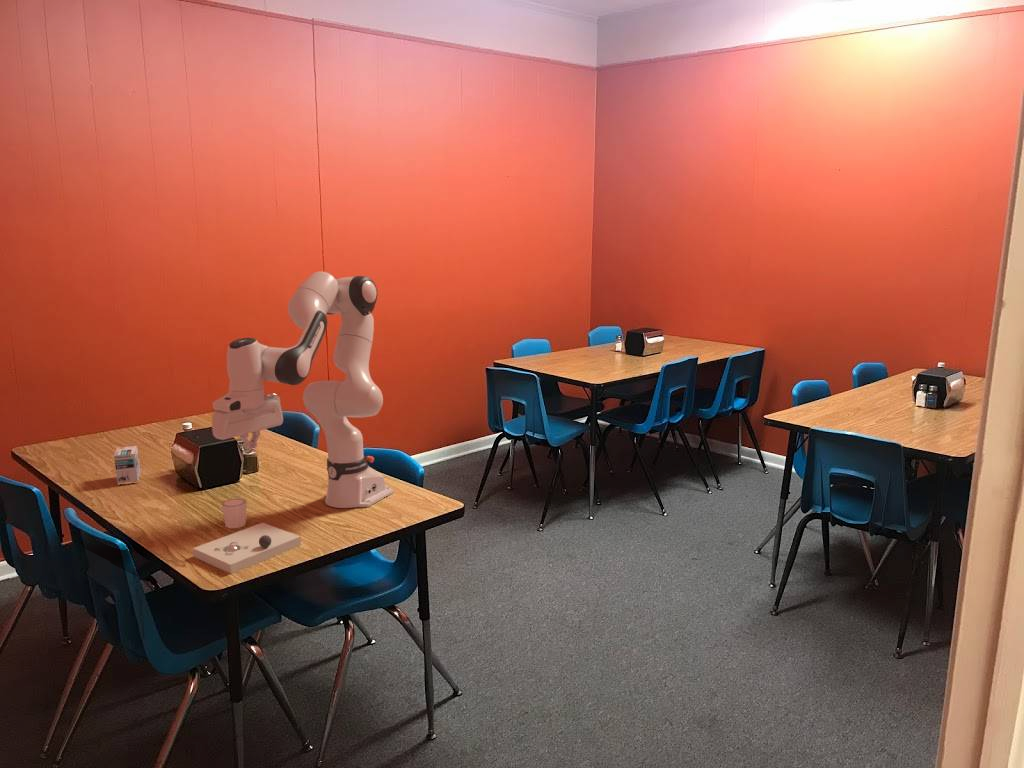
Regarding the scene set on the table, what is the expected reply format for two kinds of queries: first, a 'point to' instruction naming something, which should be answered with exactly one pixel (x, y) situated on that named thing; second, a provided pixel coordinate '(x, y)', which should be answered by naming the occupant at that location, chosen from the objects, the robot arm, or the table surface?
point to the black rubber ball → (265, 541)
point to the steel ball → (232, 548)
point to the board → (246, 547)
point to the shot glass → (234, 513)
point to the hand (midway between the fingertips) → (250, 447)
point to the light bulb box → (127, 464)
